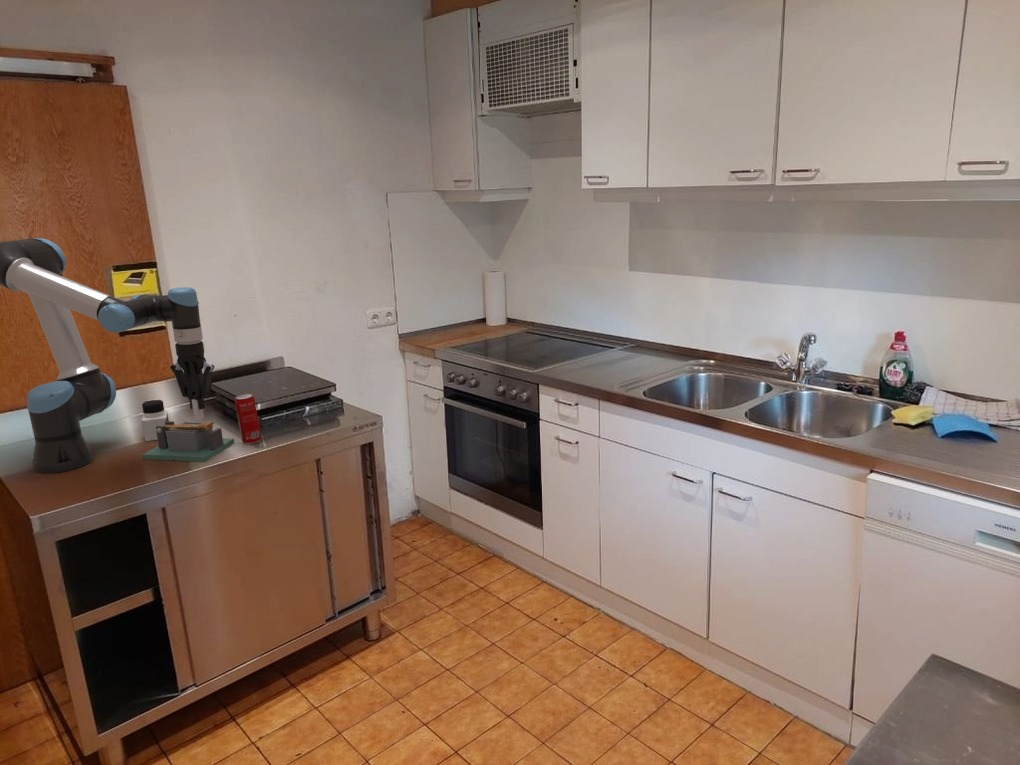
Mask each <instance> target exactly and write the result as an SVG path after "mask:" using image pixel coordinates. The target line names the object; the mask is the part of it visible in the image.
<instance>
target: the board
mask: <svg viewBox="0 0 1020 765" xmlns="http://www.w3.org/2000/svg"><path fill="white" fill-rule="evenodd" d="M201 423H202V422H200V421H194V422H193V421H184V422H183V423H181V424H201ZM166 424H175V421H173V420H171V421H170V420H169V421H166V422H165V425H166ZM156 432H157V438H158V440H157V444H158V445H157V446H155V447H153V448H151V449H150V450H147V452H144V453H142V459H143V460H152V461H154V460H155V461H170V462H171V461H172V460H175V461H174V462H193V461H198V462H199V463H206V462H207V461H209V460H210V459H212V458H213V456H214V457H216V454H217V455H218V454H220V453H221V452H223V451H224V450H226V449H227V448H229V447H231V446H232V445H234V444H235V438H227V437H226V438H225V437H223V433H222V432H223V431H222V427H221V428H220V427H219V428H218V427H217V428H215V429H213V428H211V429H210V430H172V429H171V430H166V429H165V426H156ZM166 432H167V435H166Z"/></svg>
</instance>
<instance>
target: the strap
mask: <svg viewBox="0 0 1020 765" xmlns="http://www.w3.org/2000/svg"><path fill="white" fill-rule="evenodd" d="M200 423H201V424H184V423H183V424H182V423H180V424H175V423H174V424H166V425H164V426H165V429H166V430H171V429H172V430H210V429H211V428H212V429H213V427H214V424H215V423H214V421H203V422H200Z"/></svg>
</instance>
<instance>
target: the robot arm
mask: <svg viewBox="0 0 1020 765" xmlns="http://www.w3.org/2000/svg"><path fill="white" fill-rule="evenodd" d="M66 266H67V259H66V256H65V254H64V252H63V250H62V249H61V248H60V247H59V245H57V244H56V243H54V242H53V241H51V240H49V239H46V238H42V237H41V238H40V237H39V238H35V237H33V238H31V237H30V238H25V239H16V240H8V241H7V240H6V241H5V240H3V241H0V286H2V287H3V288H6V289H8V290H11V291H14V292H20V291H21V292H23V293H25V294H27V295H28V296H29V299H30V301H31V305H32V306H33V309H34V312H35V314H36V316H37V319H38V321H39V325H40V326H41V328H42V332H43V334H44V335H45V338H46V341H47V344H48V346H49V348H50V351H51V353H52V355H53V358H54V361H55V363H56V365H57V368H58V371H59V373H58V375H57V377H56V381H50V382H49V381H48V383H43V384H39V385H37V386H35V387H33V388H32V389H30V390H29V391H28V392H27V394H26V401H27V402H26V407H27V408H26V409H27V411H28V414H29V419H30V424H31V427H32V428H31V429H32V433H33V436H34V442H35V444H34V449H33V458H32V462H31V463H32V464H31V465H32V468H33V471H34V472H36V473H42V474H52V473H60V472H61V473H62V472H66V471H67V472H68V471H71V470H74V469H78V468H81V467H83V466H86V465H88V464H89V463H91V462H92V461H93V460H94V455H93V450H92V449H91V448H90V447H89V445H88V443H87V441H86V439H85V438H84V436H83V433H82V429H81V424H80V422H81V421H83V420H85V419H87V418H90V417H92V416H94V415H96V414H101V413H102V412H104V411H105V410H106V409H109V408H110V407H111V406H113V404H114V402H115V400H116V397H117V396H116V395H117V387H116V385H115V382H114V380H113V379H112V377H110V376H108V375H107V374H106V373H103V372H101V370H100V367H99V366H98V365H97V364H94V363H93V362H91V359H90V357H89V354H88V352H87V349H86V346H85V344H84V342H83V340H82V337H81V334H80V331H79V329H78V327H77V324H76V321H75V318H74V316H73V314H72V311H74V312H76V313H79V314H81V315H83V316H86V317H89V318H90V319H93V320H95V321H98V322H99V325H100V326H101V327H102V328H103V329H104V330H105V331H107V332H109V333H120V332H121V333H122V332H126V331H128V330H132V329H134V328H138V327H141V326H144V325H145V326H146V325H148V324H150V323H151V324H152V323H155V322H171V326H172V331H173V339H174V342H175V344H174V347H175V348H174V349H175V354H176V356H177V358H176V362H175V363H174V364H172V365H170V368H169V369H170V370H171V371H172V372H173V373H174V374H173V375H174V376H175V379H176V383H177V385H178V388H179V390H180V393H181V396H182V397H183V398H184V397H185V398H187V399H189V400H188V401H189V405H190V406H189V408H190V409H191V410H192V412H193V421H194V422H200V421H202V420H203V419H205V414H204V413H205V412H204V409H205V407H206V404H205V398H207V397H208V396H210V394H211V385H212V377H213V376H212V374H213V372H214V369H215V365H214V364H210V363H208V362H207V359H206V358H205V346H204V345H205V344H204V342H203V341H202V340H203V338H204V337H203V330H202V324H201V316H200V308H199V304H200V303H199V301H198V295H197V291H196V289H195V288H193V287H189V286H188V287H186V286H185V287H174V288H170V289H169V290H168V291H167V295H164V294H162V295H161V294H148V293H147V294H145V293H144V294H135V295H133V296H132V297H131V298H130V299H129V300H121V299H119V298H116V297H114V296H112V295H109V294H107V293H106V292H105V293H104V292H102V291H99V290H97V289H94V288H92V287H90V286H87V285H85V284H82V283H80V282H77V281H74V280H72V279H70V278H67V277H65V276H63V272H64V271H65V270H66ZM71 310H72V311H71Z"/></svg>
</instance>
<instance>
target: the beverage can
mask: <svg viewBox="0 0 1020 765" xmlns="http://www.w3.org/2000/svg"><path fill="white" fill-rule="evenodd" d="M234 399H235V400H234V405H235V406H234V407H235V409H236V416H237V421H238V427H239V430H240V438H241V441H242V443H243V444H245V445H246V444H247V445H251V444H256V443H259V442H260V441H261V440H262V433H261V429H260V422H259V417H258V412H257V406H256V400H255V397H254V395H253V394H252V393H241V394H238V395H236V396H235V398H234Z"/></svg>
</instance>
